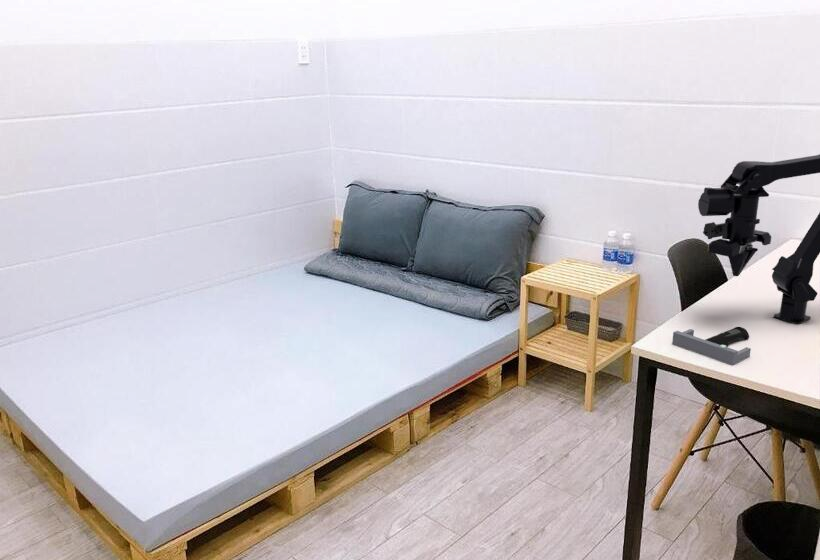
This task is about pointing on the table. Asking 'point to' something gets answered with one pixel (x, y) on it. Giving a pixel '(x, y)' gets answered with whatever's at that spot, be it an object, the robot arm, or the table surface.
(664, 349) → the table surface
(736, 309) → the table surface
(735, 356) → the charging dock
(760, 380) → the table surface
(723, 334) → the electric trimmer
